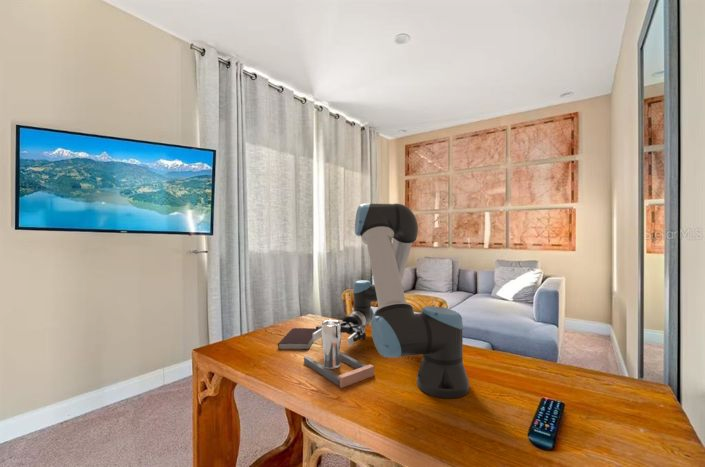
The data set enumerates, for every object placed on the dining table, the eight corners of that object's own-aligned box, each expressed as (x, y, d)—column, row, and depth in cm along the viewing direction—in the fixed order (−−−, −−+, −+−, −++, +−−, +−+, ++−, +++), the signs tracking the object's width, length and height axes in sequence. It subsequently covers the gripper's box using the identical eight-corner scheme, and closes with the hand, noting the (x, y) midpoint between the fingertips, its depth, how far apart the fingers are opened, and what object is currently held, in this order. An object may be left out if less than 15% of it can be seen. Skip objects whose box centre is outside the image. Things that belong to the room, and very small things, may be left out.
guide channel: (374, 375, 105) (374, 366, 105) (341, 387, 97) (341, 378, 97) (334, 353, 123) (334, 345, 123) (304, 362, 115) (303, 354, 115)
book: (277, 350, 129) (277, 342, 128) (291, 334, 148) (291, 327, 148) (308, 351, 127) (308, 343, 127) (318, 334, 146) (318, 327, 146)
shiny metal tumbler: (342, 361, 116) (342, 320, 115) (340, 370, 109) (339, 326, 108) (323, 361, 116) (323, 319, 116) (319, 369, 109) (319, 325, 109)
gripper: (383, 335, 128) (364, 355, 108) (326, 328, 137) (300, 345, 118) (382, 316, 127) (363, 333, 108) (326, 311, 137) (299, 325, 117)
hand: (330, 339), depth 113 cm, fingers open, 13 cm apart
